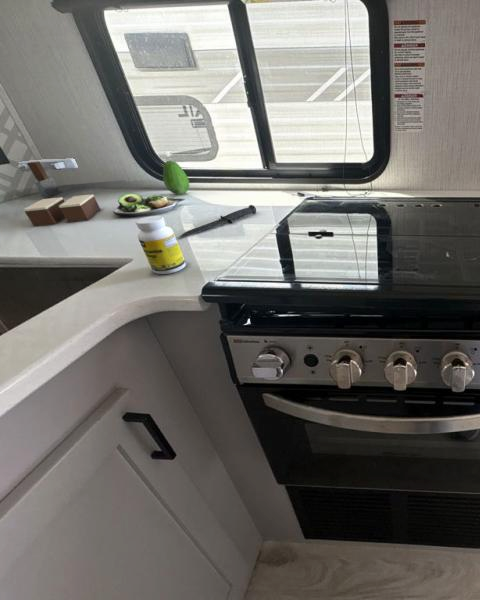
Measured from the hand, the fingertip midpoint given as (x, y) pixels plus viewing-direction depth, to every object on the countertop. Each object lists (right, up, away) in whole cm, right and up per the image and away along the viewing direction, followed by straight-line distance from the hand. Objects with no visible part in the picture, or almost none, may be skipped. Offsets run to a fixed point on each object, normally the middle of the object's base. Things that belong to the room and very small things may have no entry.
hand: (37, 167), depth 122 cm
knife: (+82, -27, -26) cm, 91 cm away
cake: (+31, -23, -19) cm, 43 cm away
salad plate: (+51, -19, -13) cm, 55 cm away
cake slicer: (+1, -9, +5) cm, 10 cm away
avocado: (+51, -9, +4) cm, 52 cm away
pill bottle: (+85, -42, -50) cm, 107 cm away
